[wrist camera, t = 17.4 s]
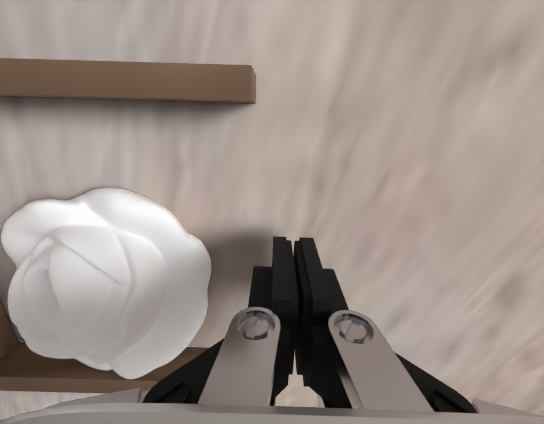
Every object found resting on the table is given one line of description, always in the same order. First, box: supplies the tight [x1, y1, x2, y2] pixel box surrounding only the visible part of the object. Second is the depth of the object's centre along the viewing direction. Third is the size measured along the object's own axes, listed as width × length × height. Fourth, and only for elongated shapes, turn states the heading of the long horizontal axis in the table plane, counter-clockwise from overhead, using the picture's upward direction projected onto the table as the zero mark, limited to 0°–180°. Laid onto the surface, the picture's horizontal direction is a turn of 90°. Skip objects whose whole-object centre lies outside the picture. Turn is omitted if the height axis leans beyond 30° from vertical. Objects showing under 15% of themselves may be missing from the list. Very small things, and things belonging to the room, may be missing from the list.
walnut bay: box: [0, 58, 256, 393], centre depth 12 cm, size 15×14×2 cm
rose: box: [1, 188, 211, 379], centre depth 11 cm, size 10×4×10 cm
